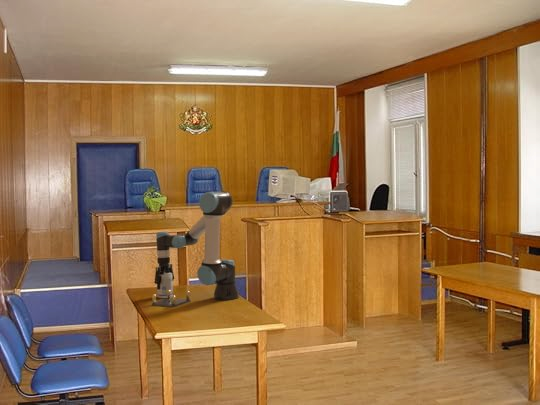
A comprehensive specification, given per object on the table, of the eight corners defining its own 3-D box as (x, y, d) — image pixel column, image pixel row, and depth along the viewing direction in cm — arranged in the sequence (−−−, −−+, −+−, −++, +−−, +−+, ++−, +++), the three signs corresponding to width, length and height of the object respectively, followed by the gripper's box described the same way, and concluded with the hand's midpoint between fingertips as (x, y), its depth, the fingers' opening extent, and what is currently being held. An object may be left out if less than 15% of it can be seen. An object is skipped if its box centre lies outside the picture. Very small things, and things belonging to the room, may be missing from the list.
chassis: (190, 301, 361) (190, 291, 361) (174, 307, 347) (173, 296, 347) (168, 299, 368) (168, 289, 368) (151, 305, 354) (151, 294, 354)
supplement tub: (155, 298, 373) (154, 274, 372) (160, 295, 382) (159, 272, 382) (170, 298, 372) (169, 274, 371) (175, 295, 381) (174, 272, 380)
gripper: (169, 254, 387) (171, 289, 388) (147, 259, 368) (148, 296, 369) (179, 254, 384) (180, 289, 385) (157, 259, 364) (158, 296, 365)
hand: (165, 292), depth 377 cm, fingers closed on supplement tub, 9 cm apart
